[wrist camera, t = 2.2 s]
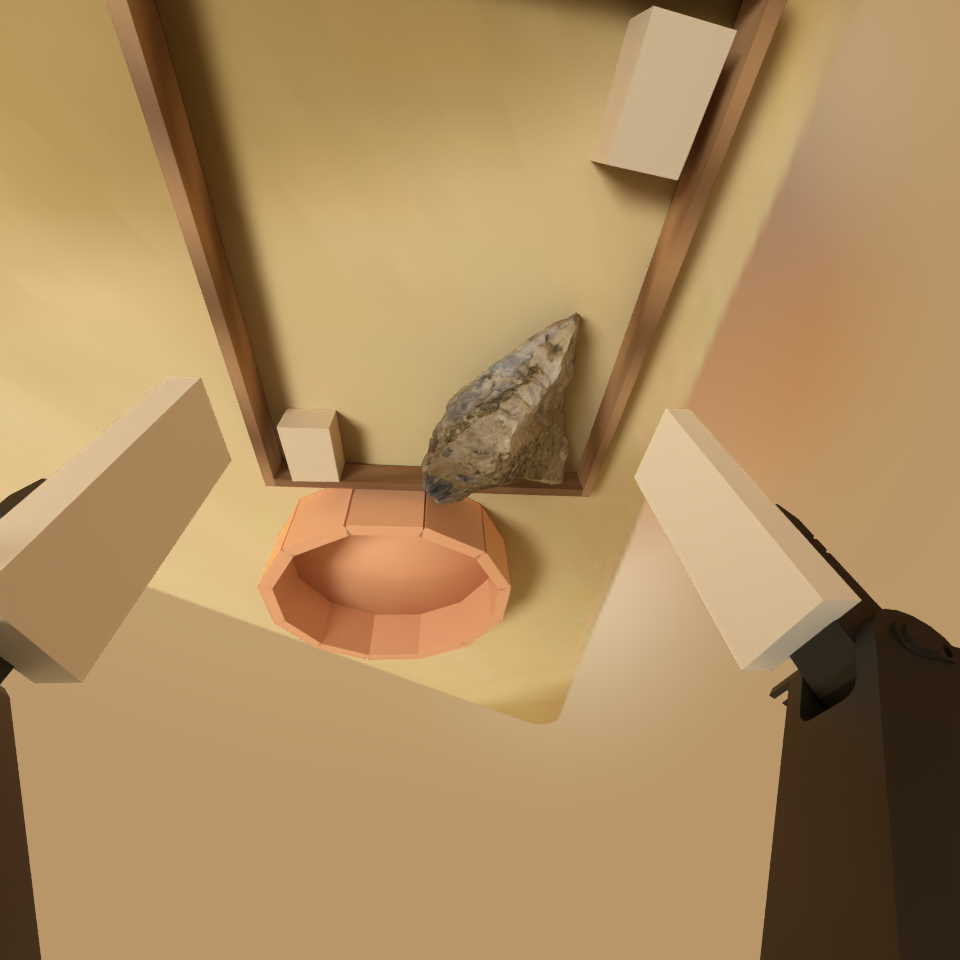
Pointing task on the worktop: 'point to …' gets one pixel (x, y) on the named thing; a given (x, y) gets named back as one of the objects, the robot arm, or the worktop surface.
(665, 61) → the beige rectangular block
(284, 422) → the cream cuboid block
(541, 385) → the rock
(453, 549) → the bowl
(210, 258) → the tray
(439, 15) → the worktop surface
